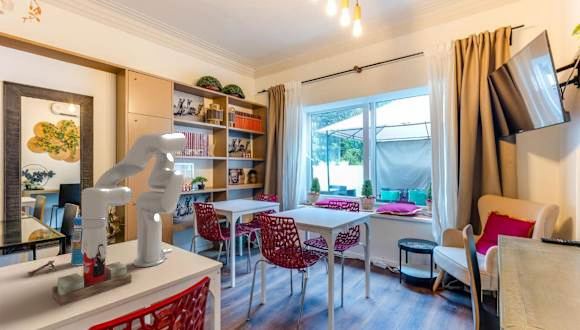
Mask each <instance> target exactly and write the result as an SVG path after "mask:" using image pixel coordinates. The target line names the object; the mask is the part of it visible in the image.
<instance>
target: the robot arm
mask: <svg viewBox="0 0 580 330" xmlns="http://www.w3.org/2000/svg"><path fill="white" fill-rule="evenodd" d="M187 144H188V140H187V137H186V136H185V135H184V134H183V133H180V132H161V133H160V132H159V133H155V134H154V133H152V134H151V133H149V134H141V135H139V136H138V137H137V138H136V139H135V141H134V143H133V144H132V146H131V147H130V148H129V150H128V152H127V153H126V155H125V156H124V158H123V159H122V160H121V161H119V162H118V163H116V164H115V165H113V166H112V167H110V168H109V169H108V170H106V171H105V172H103V173H102V174H101V175H100V176H99V178H98V179H97V181H96V182H95V184H94V185H93V187H87V188H84V189H83V190H82V192H81V216H82V229H83V232H82V244H81V253H82V254H84V252H85V253H86V254H87V257H88V258H90V259H92V258H93V260H94V266H93V278H96V277H100V276H103V275H104V264H105V265H106V258H107V256H106V255H107V253H108V235H107V227H108V226H109V207H118V206H119V207H120V206H125V205H127V204H128V203H130V202H131V200H132V199H133V192H132V189H130V188H129V187H128V186H125V185H119V183H120V182H121V181H123V180H124V179H127V178H130V177H132V176H135V175H137V174H139V173H142V172H143V171H144V170H145V169H146V167H147V165H148V164H149V163H150V160H151V158H152V157H153V155H155V161H154V164H153V166H152V169H151V172H150V173H149V175H148V178H147V185H148V187H149V188H150V189H151V190H153V191H151V190H149V191H148V190H146V191H142V192H141V193H139V194H138V195H137V196H136V197H135V211H136V214H137V215H136V216H137V245H136V246H137V251H136V252H137V254H136V255H137V256H136V258H135V259H134V260H133V262H132V264H133V266H135V267H138V268H144V267H145V268H148V267H152V266H158V265H160V264H162V263H164V261H166V257H165V255H167V254H171V253H172V252H173V251H172V248H162V241H163V240H162V234H163V232H162V230H163V229H162V228H163V221H162V217H161V215H160V214H162V215H169V214H172V213H174V211H175V210H176V208H177V206H178V205H179V204H178V203H179V201H180V197H181V195H182V191H183V188H184V184H185V178H184V174H183V173H182V171H179V170H177V169H176V170H175V169H174V167H175V159H174V157H173V155H172V154H174V153H177V152H181V151H183V150H185V149H186V147H187ZM154 190H155V191H154ZM96 254H99V255H100V256H96ZM96 258H100V259H98V260H97V259H96Z"/></svg>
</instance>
